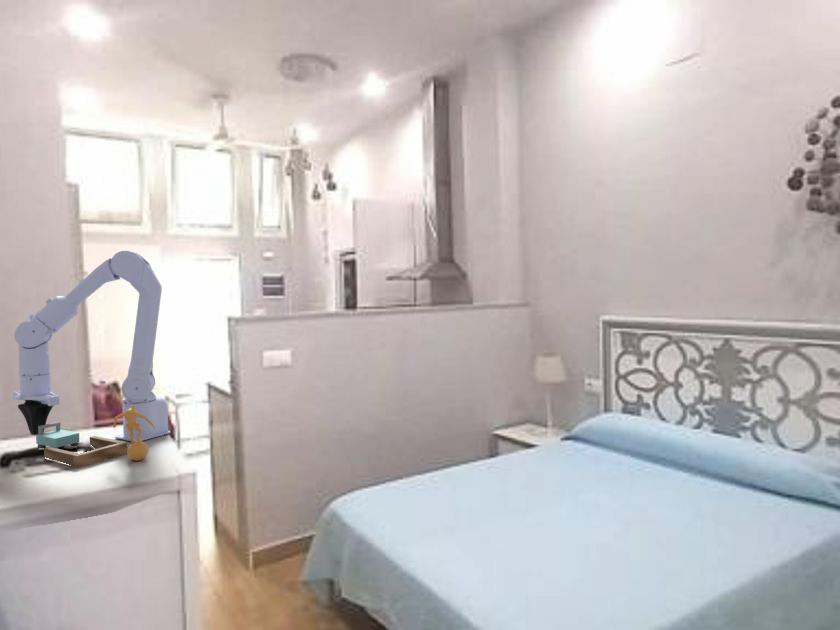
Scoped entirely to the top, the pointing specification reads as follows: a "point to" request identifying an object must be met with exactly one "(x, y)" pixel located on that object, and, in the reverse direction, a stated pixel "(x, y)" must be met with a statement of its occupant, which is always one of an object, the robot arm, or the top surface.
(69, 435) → the mint block
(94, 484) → the top surface
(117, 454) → the dock
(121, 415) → the figurine
